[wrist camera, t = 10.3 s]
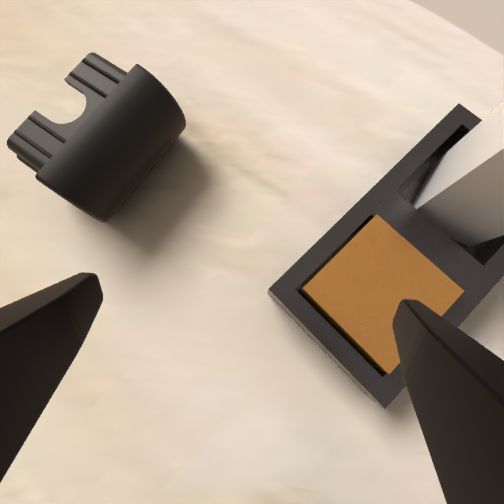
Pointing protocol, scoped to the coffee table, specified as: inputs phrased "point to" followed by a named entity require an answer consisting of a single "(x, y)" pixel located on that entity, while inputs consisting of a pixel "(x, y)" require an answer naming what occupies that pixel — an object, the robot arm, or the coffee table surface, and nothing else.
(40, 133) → the end cap
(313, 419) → the coffee table surface
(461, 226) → the white soap bottle
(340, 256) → the two-compartment sponge tray
